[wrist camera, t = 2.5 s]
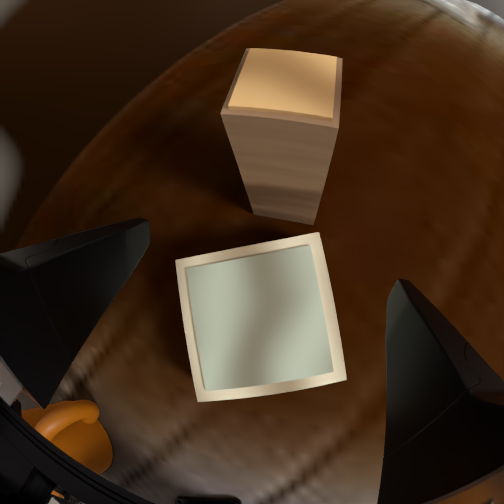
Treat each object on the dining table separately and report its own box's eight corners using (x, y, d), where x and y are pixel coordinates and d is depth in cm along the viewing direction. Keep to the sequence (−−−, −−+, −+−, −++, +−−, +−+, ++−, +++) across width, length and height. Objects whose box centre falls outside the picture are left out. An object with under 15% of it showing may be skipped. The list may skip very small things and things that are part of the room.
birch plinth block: (212, 388, 21) (196, 402, 17) (193, 269, 23) (174, 259, 19) (336, 368, 20) (347, 380, 16) (313, 246, 23) (319, 231, 18)
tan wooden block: (313, 225, 23) (339, 124, 10) (253, 214, 24) (219, 110, 11) (321, 172, 24) (342, 54, 11) (265, 163, 25) (245, 45, 12)
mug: (148, 445, 20) (94, 486, 12) (88, 479, 20) (41, 508, 11) (91, 369, 22) (24, 381, 14) (43, 417, 22) (-11, 431, 13)
